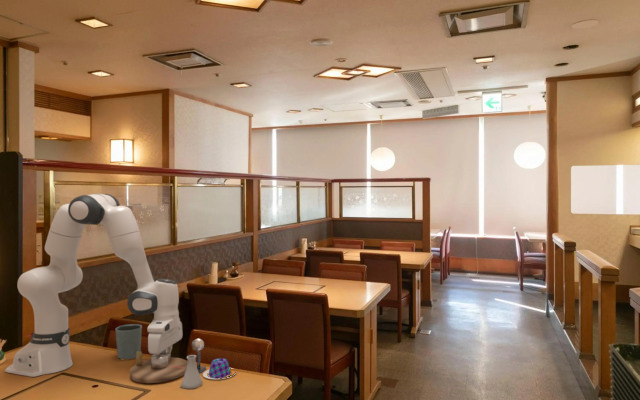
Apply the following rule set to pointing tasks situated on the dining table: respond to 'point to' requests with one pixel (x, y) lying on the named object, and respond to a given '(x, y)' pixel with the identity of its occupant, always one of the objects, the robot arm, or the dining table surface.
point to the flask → (191, 374)
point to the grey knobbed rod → (198, 352)
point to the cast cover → (159, 361)
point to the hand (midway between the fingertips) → (166, 358)
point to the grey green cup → (128, 340)
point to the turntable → (148, 375)
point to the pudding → (218, 369)
